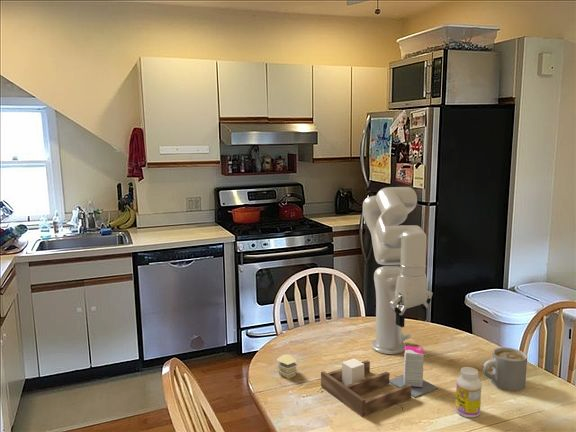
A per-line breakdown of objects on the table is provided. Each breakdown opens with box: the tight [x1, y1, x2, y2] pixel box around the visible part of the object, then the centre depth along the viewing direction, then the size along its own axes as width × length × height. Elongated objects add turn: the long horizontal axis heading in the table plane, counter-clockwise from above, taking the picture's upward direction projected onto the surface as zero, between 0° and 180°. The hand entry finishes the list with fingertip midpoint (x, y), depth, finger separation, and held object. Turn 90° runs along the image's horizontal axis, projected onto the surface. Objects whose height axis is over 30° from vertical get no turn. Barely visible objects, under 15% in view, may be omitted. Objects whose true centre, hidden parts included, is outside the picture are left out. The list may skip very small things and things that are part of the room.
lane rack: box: [320, 359, 412, 418], centre depth 150 cm, size 19×20×5 cm
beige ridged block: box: [276, 353, 298, 380], centre depth 163 cm, size 10×9×6 cm
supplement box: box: [403, 345, 425, 388], centre depth 154 cm, size 6×6×12 cm
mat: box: [389, 374, 439, 399], centre depth 155 cm, size 10×12×1 cm
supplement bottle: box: [455, 366, 482, 419], centre depth 138 cm, size 7×7×13 cm
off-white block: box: [341, 358, 365, 386], centre depth 154 cm, size 5×5×8 cm
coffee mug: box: [482, 346, 528, 392], centre depth 154 cm, size 13×10×10 cm
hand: (411, 322), depth 152 cm, fingers open, 9 cm apart
